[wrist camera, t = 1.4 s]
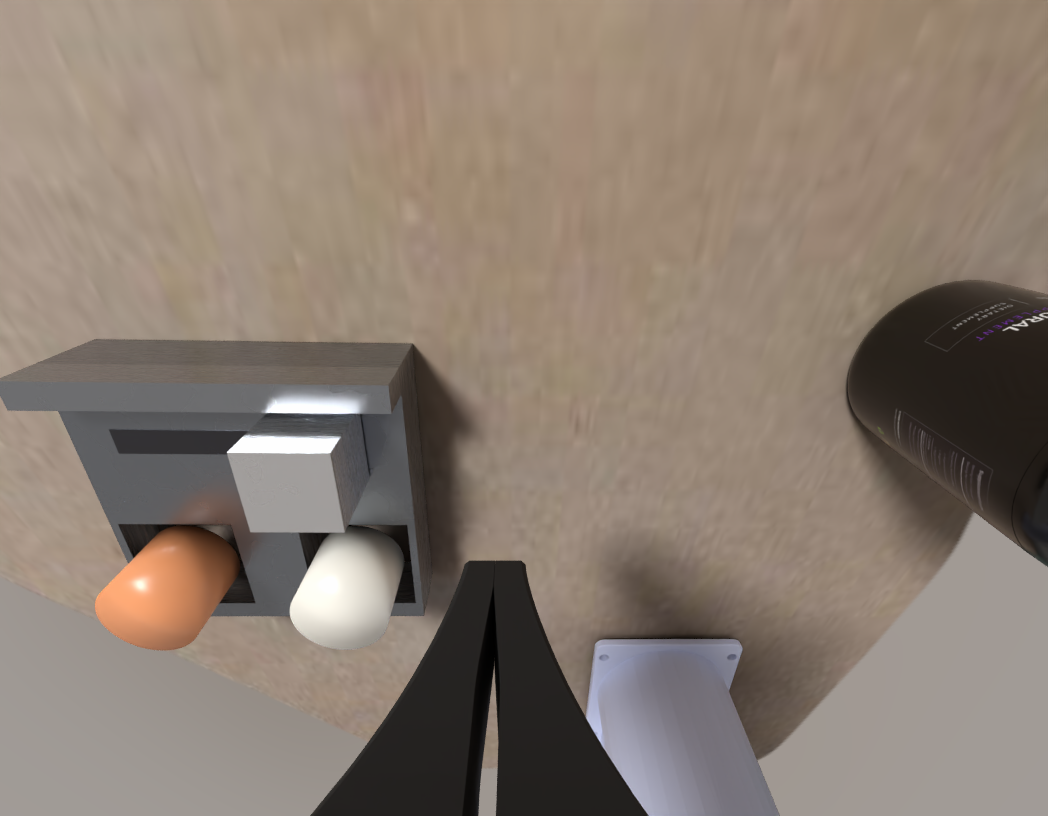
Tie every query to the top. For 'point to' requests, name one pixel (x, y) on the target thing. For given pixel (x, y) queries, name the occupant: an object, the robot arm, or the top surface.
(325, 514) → the slider knob
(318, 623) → the ivory button
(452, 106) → the top surface
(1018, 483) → the supplement bottle
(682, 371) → the top surface
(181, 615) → the orange button
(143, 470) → the panel
